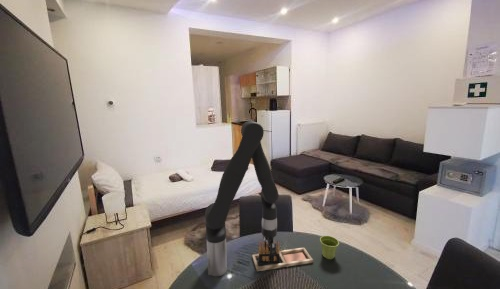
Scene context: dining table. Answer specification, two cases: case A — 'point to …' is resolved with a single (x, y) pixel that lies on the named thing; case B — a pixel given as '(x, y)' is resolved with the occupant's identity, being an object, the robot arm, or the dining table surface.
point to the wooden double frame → (286, 259)
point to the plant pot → (329, 246)
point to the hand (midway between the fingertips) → (269, 254)
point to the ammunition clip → (263, 254)
